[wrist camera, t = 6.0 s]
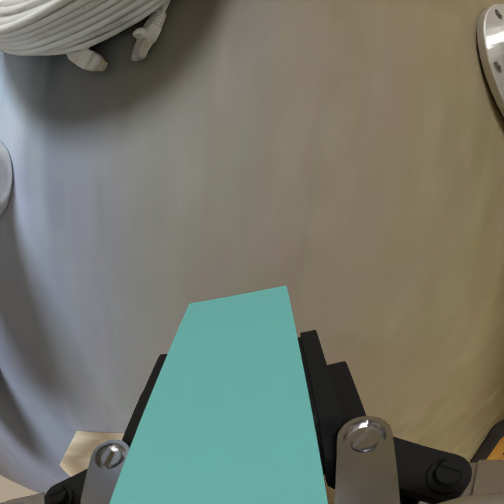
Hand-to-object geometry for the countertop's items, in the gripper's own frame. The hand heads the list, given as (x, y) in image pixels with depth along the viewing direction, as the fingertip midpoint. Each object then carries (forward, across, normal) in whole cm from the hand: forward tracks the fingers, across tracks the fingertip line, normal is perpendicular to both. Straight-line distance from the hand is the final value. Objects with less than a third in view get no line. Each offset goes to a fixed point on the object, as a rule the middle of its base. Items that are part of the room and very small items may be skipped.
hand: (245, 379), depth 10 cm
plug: (+3, 0, 0) cm, 3 cm away
